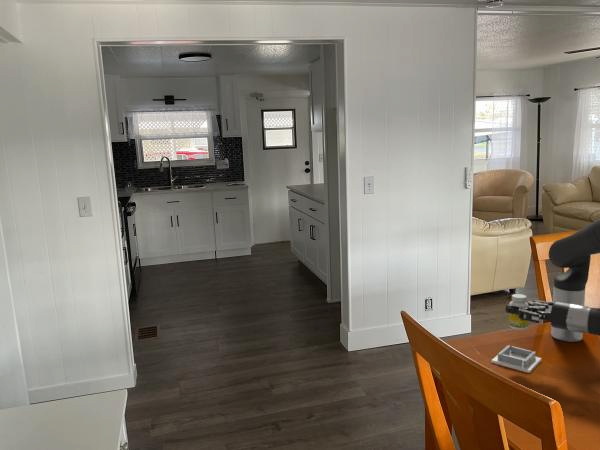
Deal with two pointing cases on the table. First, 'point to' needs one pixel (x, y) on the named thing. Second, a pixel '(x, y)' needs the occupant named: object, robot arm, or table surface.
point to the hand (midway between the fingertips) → (510, 305)
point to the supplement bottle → (514, 319)
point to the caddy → (517, 359)
